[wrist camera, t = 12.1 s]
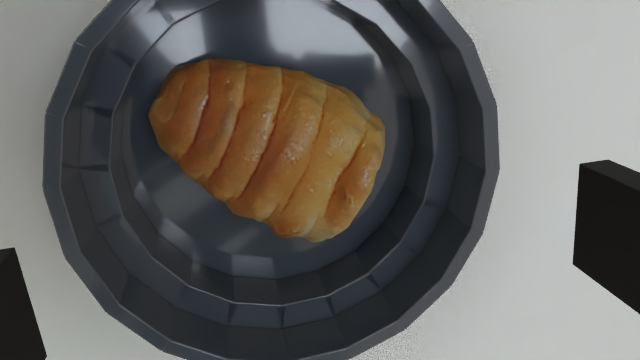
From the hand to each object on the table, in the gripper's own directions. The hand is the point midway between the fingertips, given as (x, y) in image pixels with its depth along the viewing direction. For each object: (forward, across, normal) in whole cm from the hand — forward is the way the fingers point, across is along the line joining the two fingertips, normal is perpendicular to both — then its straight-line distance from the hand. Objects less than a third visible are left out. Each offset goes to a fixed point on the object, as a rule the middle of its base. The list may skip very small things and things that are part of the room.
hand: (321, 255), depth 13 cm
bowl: (+13, 0, 0) cm, 13 cm away
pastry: (+12, 0, 0) cm, 12 cm away
